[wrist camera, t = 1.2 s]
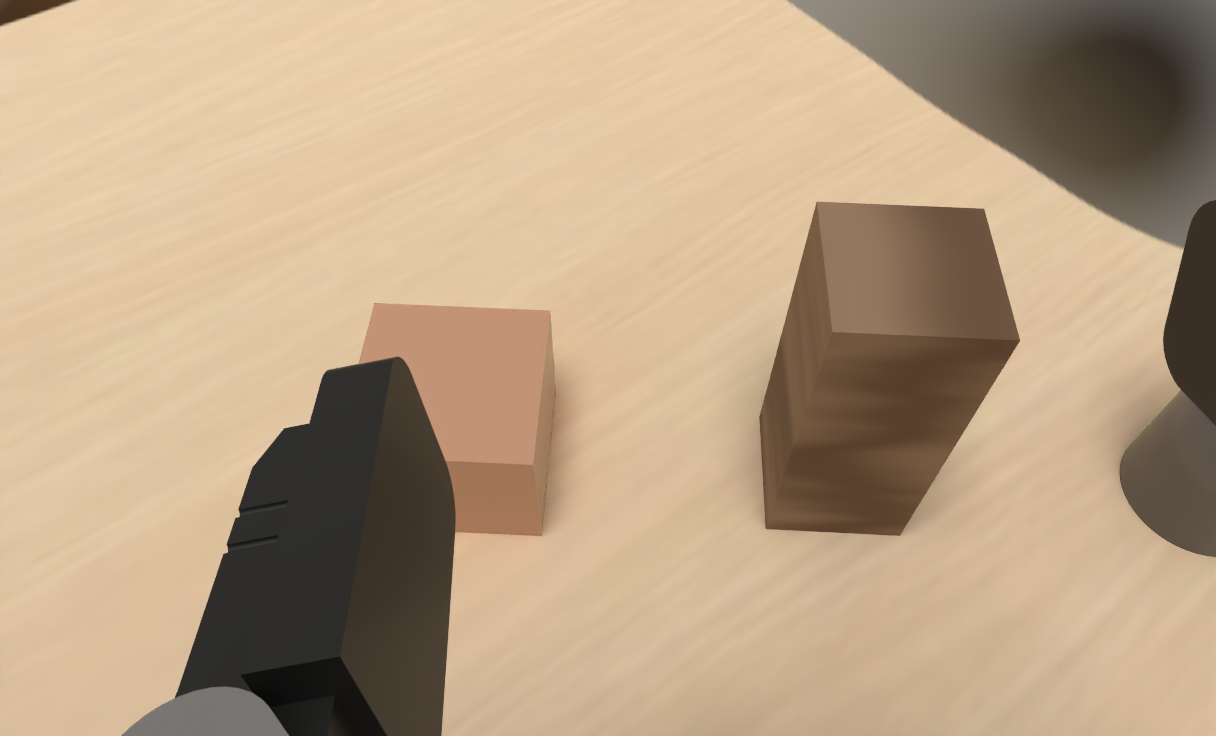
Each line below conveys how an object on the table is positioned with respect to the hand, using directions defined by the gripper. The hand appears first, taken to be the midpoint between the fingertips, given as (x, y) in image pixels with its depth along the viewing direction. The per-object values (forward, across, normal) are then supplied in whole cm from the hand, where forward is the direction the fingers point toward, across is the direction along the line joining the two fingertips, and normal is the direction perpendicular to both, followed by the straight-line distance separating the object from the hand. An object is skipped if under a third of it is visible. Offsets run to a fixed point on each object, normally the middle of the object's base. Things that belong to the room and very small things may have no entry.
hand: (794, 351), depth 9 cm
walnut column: (+16, -4, +18) cm, 24 cm away
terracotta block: (+17, +8, +16) cm, 25 cm away
